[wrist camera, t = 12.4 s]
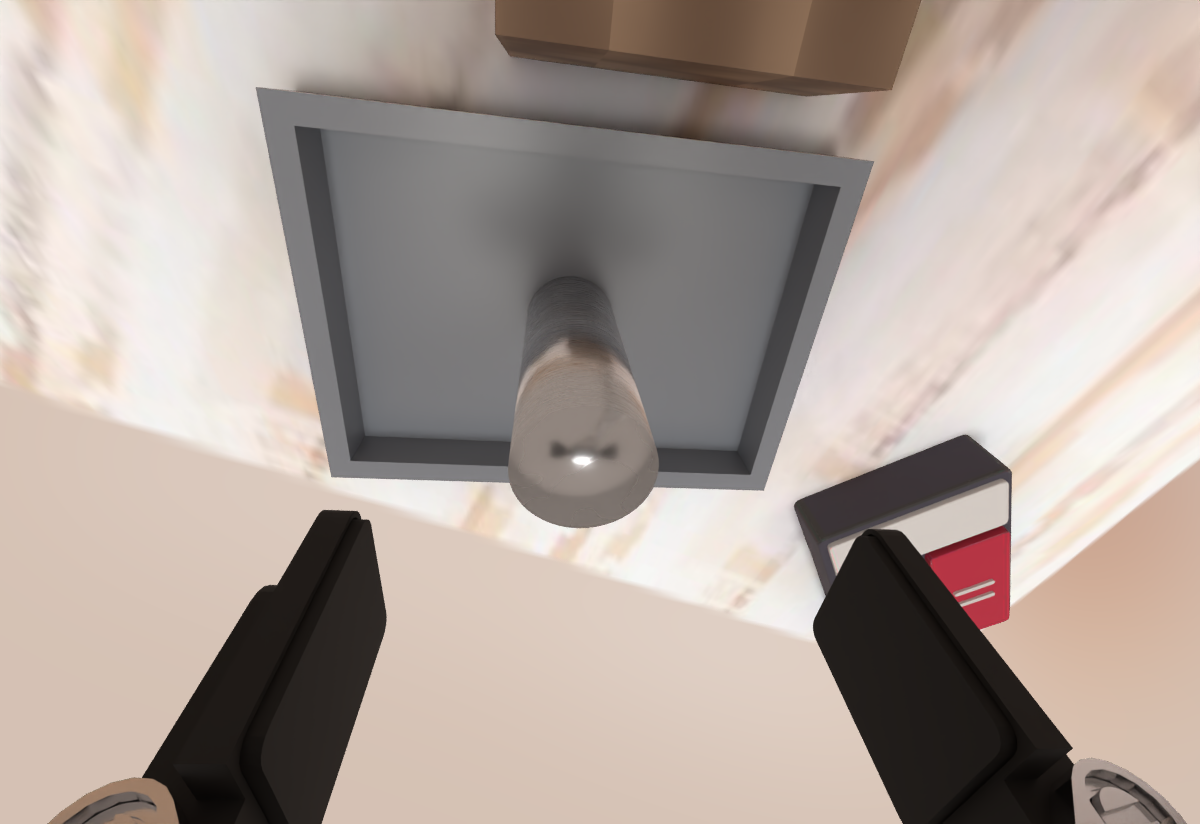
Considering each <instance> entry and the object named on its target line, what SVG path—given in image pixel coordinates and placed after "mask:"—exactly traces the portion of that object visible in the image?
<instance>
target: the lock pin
mask: <svg viewBox="0 0 1200 824" xmlns="http://www.w3.org/2000/svg"><path fill="white" fill-rule="evenodd" d="M658 468H659V458H658V453H657V449H656V446H655V443H654V440H653V436H652V433H651V430H650V427H649V424H648V421H647V417H646V414H645V411H644V408H643V405H642V402H641V399H640V395H639V392H638V389H637V386H636V383H635V380H634V377H633V373H632V370H631V367H630V364H629V361H628V358H627V355H626V351H625V348H624V345H623V342H622V339H621V336H620V333H619V329H618V326H617V323H616V320H615V317H614V314H613V311H612V307H611V305H610V302H609V300H608V298H607V296H606V295H605V293H604V292H603V291H602V290H601V289H600V287H598V286H597V285H596V284H594V283H593V282H591V281H589V280H587V279H584V278H581V277H576V276H564V277H559V278H556V279H553V280H551V281H549V282H547V283H545V284H544V285H543V286H541V287H540V288H539V289H538V290H537V292H536V293H535V294H534V296H533V298H532V299H531V302H530V304H529V308H528V313H527V321H526V329H525V337H524V345H523V352H522V360H521V368H520V376H519V384H518V392H517V400H516V407H515V415H514V423H513V431H512V439H511V447H510V455H509V463H508V477H509V481H510V485H511V487H512V490H513V492H514V494H515V496H516V497H517V499H518V500H519V501H520V503H521V504H522V505H523V506H524V507H525V508H526V509H527V510H528V511H530V512H531V513H532V514H534V515H535V516H537V517H539V518H541V519H542V520H545V521H547V522H549V523H552V524H556V525H559V526H564V527H571V528H589V527H597V526H601V525H605V524H608V523H611V522H614V521H616V520H619V519H621V518H623V517H624V516H626V515H628V514H630V513H631V512H632V511H634V510H635V509H636V508H637V507H638V506H639V505H640V504H642V503H643V501H644V500H645V499H646V498H647V497H648V495H649V494H650V492H651V490H652V489H653V486H654V484H655V482H656V479H657V475H658Z"/></svg>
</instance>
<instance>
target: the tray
mask: <svg viewBox="0 0 1200 824" xmlns="http://www.w3.org/2000/svg"><path fill="white" fill-rule="evenodd" d="M256 91H257V96H258V101H259V106H260V111H261V116H262V122H263V127H264V132H265V137H266V142H267V147H268V152H269V158H270V163H271V168H272V173H273V178H274V183H275V188H276V194H277V199H278V204H279V209H280V214H281V219H282V225H283V230H284V235H285V240H286V245H287V250H288V255H289V261H290V266H291V271H292V276H293V281H294V286H295V292H296V297H297V302H298V307H299V312H300V317H301V322H302V328H303V333H304V338H305V343H306V348H307V353H308V359H309V364H310V369H311V374H312V379H313V384H314V389H315V395H316V400H317V405H318V410H319V415H320V420H321V425H322V431H323V436H324V441H325V446H326V451H327V456H328V462H329V467H330V472H331V477H343V478H376V479H408V480H440V481H473V482H505V483H510V481H509V477H508V463H509V455H510V447H511V439H512V431H513V423H514V415H515V407H516V400H517V392H518V384H519V376H520V368H521V360H522V352H523V345H524V337H525V329H526V321H527V313H528V308H529V304H530V302H531V299H532V298H533V296H534V294H535V293H536V292H537V290H538V289H539V288H540V287H541V286H543V285H544V284H545V283H547V282H549V281H551V280H553V279H556V278H559V277H564V276H576V277H581V278H584V279H587V280H589V281H591V282H593V283H594V284H596V285H597V286H598V287H600V289H601V290H602V291H603V292H604V293H605V295H606V296H607V298H608V300H609V302H610V305H611V307H612V311H613V314H614V317H615V320H616V323H617V326H618V329H619V333H620V336H621V339H622V342H623V345H624V348H625V351H626V355H627V358H628V361H629V364H630V367H631V370H632V373H633V377H634V380H635V383H636V386H637V389H638V392H639V395H640V399H641V402H642V405H643V408H644V411H645V414H646V417H647V421H648V424H649V427H650V430H651V433H652V436H653V440H654V443H655V446H656V449H657V453H658V458H659V468H658V475H657V479H656V482H655V484H654V486H653V487H666V488H699V489H731V490H763V491H764V488H765V485H766V482H767V479H768V476H769V473H770V470H771V467H772V464H773V461H774V458H775V455H776V452H777V449H778V446H779V443H780V440H781V437H782V434H783V431H784V428H785V426H786V423H787V420H788V417H789V414H790V411H791V408H792V405H793V402H794V399H795V396H796V393H797V390H798V387H799V384H800V381H801V378H802V375H803V372H804V369H805V366H806V363H807V360H808V357H809V354H810V351H811V348H812V345H813V342H814V339H815V336H816V333H817V330H818V327H819V324H820V321H821V318H822V315H823V312H824V309H825V306H826V303H827V300H828V297H829V294H830V291H831V288H832V285H833V282H834V279H835V276H836V273H837V270H838V267H839V264H840V261H841V258H842V256H843V253H844V250H845V247H846V244H847V241H848V238H849V235H850V232H851V229H852V226H853V223H854V220H855V217H856V214H857V211H858V208H859V205H860V202H861V199H862V196H863V193H864V190H865V187H866V184H867V181H868V178H869V175H870V172H871V169H872V166H873V163H874V161H867V160H860V159H853V158H845V157H838V156H830V155H822V154H814V153H806V152H797V151H789V150H781V149H772V148H764V147H756V146H747V145H739V144H731V143H722V142H714V141H706V140H697V139H689V138H681V137H673V136H664V135H656V134H648V133H639V132H631V131H623V130H614V129H606V128H598V127H589V126H581V125H573V124H565V123H556V122H548V121H540V120H531V119H523V118H515V117H506V116H498V115H490V114H481V113H473V112H465V111H457V110H448V109H440V108H432V107H423V106H415V105H407V104H398V103H390V102H382V101H373V100H365V99H357V98H349V97H340V96H332V95H324V94H315V93H307V92H299V91H289V90H279V89H269V88H259V87H256Z"/></svg>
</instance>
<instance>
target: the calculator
mask: <svg viewBox="0 0 1200 824" xmlns="http://www.w3.org/2000/svg"><path fill="white" fill-rule="evenodd" d="M1011 492H1012V472H1011V470H1010V469H1009V468H1008V467H1006V466H1005V465H1004V464H1003V463H1001V462H1000V461H999V460H998V459H997V458H995V457H994V456H993V455H992V454H990V453H989V452H988V451H987V450H986V449H984V448H983V447H982V446H981V445H979V444H978V443H977V442H976V441H975V440H973V439H972V438H971V437H969V436H968V435H962V436H959V437H956V438H954V439H951V440H949V441H946V442H944V443H941V444H939V445H936V446H934V447H931V448H929V449H926V450H924V451H921V452H919V453H916V454H914V455H911V456H908V457H906V458H903V459H901V460H898V461H896V462H893V463H891V464H888V465H886V466H883V467H881V468H878V469H876V470H873V471H871V472H868V473H866V474H863V475H861V476H858V477H856V478H853V479H851V480H848V481H846V482H843V483H840V484H838V485H835V486H833V487H830V488H828V489H825V490H823V491H820V492H818V493H815V494H813V495H810V496H808V497H805V498H803V499H800V500H798V501H797V502H796V503H795V505H794V508H795V511H796V514H797V517H798V519H799V522H800V525H801V528H802V531H803V534H804V536H805V539H806V542H807V545H808V547H809V549H810V551H811V554H812V557H813V560H814V563H815V566H816V569H817V572H818V575H819V578H820V580H821V583H822V586H823V589H824V592H825V595H827V593H828V591H829V589H830V588H831V586H832V584H833V582H834V580H835V578H836V576H837V574H838V572H839V570H840V568H841V566H842V564H843V562H844V560H845V558H846V556H847V554H848V552H849V550H850V548H851V546H852V544H853V543H854V541H855V539H856V538H857V537H858V536H861V535H862V534H863V532H864V531H865V530H867V529H891V530H899V531H901V532H902V533H903V534H905V535H906V537H907V538H908V539H909V540H910V542H911V543H912V544H913V545H914V547H915V548H916V549H917V551H918V552H919V553H920V554H921V556H922V557H923V558H924V559H925V561H926V562H927V563H928V565H929V566H930V567H931V568H932V570H933V571H934V572H935V573H936V575H937V576H938V577H939V579H940V580H941V581H942V582H943V584H944V585H945V586H946V587H947V589H948V590H949V591H950V593H951V594H952V595H953V596H954V598H955V599H956V600H957V602H958V603H959V604H960V605H961V607H962V608H963V609H964V610H965V612H966V613H967V614H968V616H969V617H970V618H971V619H972V621H973V622H974V623H975V624H976V626H977V627H978V628H979V630H980V629H983V628H986V627H989V626H992V625H995V624H998V623H1001V622H1004V621H1006V620H1008V619H1009V611H1010V563H1011Z"/></svg>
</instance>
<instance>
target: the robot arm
mask: <svg viewBox="0 0 1200 824" xmlns="http://www.w3.org/2000/svg"><path fill="white" fill-rule="evenodd" d="M385 627H386V609H385V603H384V598H383V592H382V586H381V580H380V574H379V568H378V563H377V557H376V551H375V545H374V539H373V533H372V527H371V523H370V521H369V520H361V516H360V514H359V512H358V511H339V510H323V511H321V512H320V513H319V515H318V516H317V518H316V520H315V522H314V523H313V525H312V526H311V528H310V530H309V532H308V533H307V535H306V537H305V538H304V540H303V542H302V544H301V545H300V547H299V549H298V550H297V552H296V554H295V556H294V557H293V559H292V561H291V563H290V564H289V566H288V568H287V569H286V571H285V573H284V575H283V576H282V578H281V580H280V581H279V583H278V585H268V586H264V587H263V588H262V589H260V590H259V591H258V592H257V593H256V595H255V596H254V597H253V599H252V600H251V601H250V603H249V605H248V606H247V608H246V610H245V611H244V613H243V614H242V616H241V618H240V619H239V621H238V623H237V624H236V626H235V627H234V629H233V631H232V632H231V634H230V636H229V637H228V639H227V640H226V642H225V644H224V645H223V647H222V649H221V650H220V652H219V653H218V655H217V657H216V658H215V660H214V662H213V663H212V665H211V667H210V668H209V670H208V671H207V673H206V675H205V676H204V678H203V680H202V681H201V683H200V684H199V686H198V687H197V689H196V691H195V693H194V694H193V696H192V697H191V699H190V700H189V702H188V704H187V705H186V707H185V709H184V710H183V712H182V713H181V715H180V717H179V718H178V720H177V722H176V723H175V725H174V726H173V728H172V730H171V731H170V733H169V735H168V736H167V738H166V740H165V741H164V743H163V744H162V746H161V747H160V749H159V751H158V752H157V754H156V756H155V757H154V759H153V760H152V762H151V764H150V765H149V767H148V769H147V770H146V772H145V774H144V775H143V777H142V778H129V779H125V780H121V781H116V782H112V783H109V784H107V785H105V786H103V787H101V788H99V789H97V790H94V791H92V792H90V793H88V794H86V795H84V796H83V797H81V798H80V799H79V800H77V801H76V802H74V803H73V804H71V805H70V806H68V807H67V808H65V809H64V810H63V811H61V812H60V813H59V814H58V815H57V816H55V817H54V818H53V819H52V820H51V821H50V822H49V823H48V824H322V821H323V817H324V814H325V811H326V808H327V805H328V802H329V799H330V796H331V793H332V790H333V787H334V784H335V781H336V778H337V775H338V772H339V769H340V766H341V763H342V760H343V757H344V754H345V751H346V748H347V745H348V742H349V739H350V736H351V733H352V730H353V727H354V724H355V720H356V717H357V715H358V711H359V708H360V705H361V702H362V699H363V696H364V693H365V690H366V687H367V684H368V681H369V678H370V675H371V672H372V669H373V666H374V663H375V660H376V657H377V654H378V651H379V648H380V645H381V642H382V639H383V636H384V632H385ZM813 631H814V636H815V638H816V641H817V643H818V645H819V647H820V649H821V651H822V654H823V656H824V658H825V660H826V662H827V664H828V666H829V668H830V670H831V672H832V675H833V677H834V679H835V681H836V683H837V685H838V687H839V690H840V692H841V694H842V696H843V698H844V700H845V702H846V705H847V707H848V709H849V711H850V713H851V715H852V718H853V719H854V722H855V724H856V726H857V728H858V730H859V732H860V735H861V737H862V739H863V741H864V743H865V745H866V747H867V749H868V752H869V754H870V756H871V758H872V760H873V762H874V764H875V767H876V769H877V771H878V772H879V775H880V777H881V779H882V781H883V784H884V786H885V788H886V790H887V792H888V794H889V796H890V798H891V801H892V803H893V805H894V807H895V809H896V811H897V813H898V815H899V818H900V819H901V821H902V823H903V824H1187V823H1186V822H1185V821H1184V819H1183V818H1182V816H1181V815H1180V814H1179V813H1178V812H1177V811H1176V810H1175V809H1174V808H1173V807H1172V806H1171V805H1170V803H1169V802H1168V801H1167V800H1166V799H1165V798H1164V797H1163V796H1161V795H1160V794H1159V793H1158V792H1157V791H1155V790H1154V789H1153V788H1152V787H1151V786H1150V785H1148V784H1147V783H1146V782H1144V781H1143V780H1141V779H1140V778H1138V777H1137V776H1135V775H1134V774H1132V773H1131V772H1129V771H1128V770H1126V769H1124V768H1122V767H1119V766H1117V765H1115V764H1113V763H1110V762H1108V761H1104V760H1100V759H1095V758H1088V759H1081V760H1079V761H1078V762H1077V763H1076V764H1073V763H1072V761H1071V760H1070V759H1069V758H1068V756H1067V755H1066V754H1067V753H1068V752H1069V751H1070V750H1072V749H1073V748H1072V747H1071V745H1070V744H1069V743H1068V742H1067V740H1066V739H1065V738H1064V736H1063V735H1062V734H1061V733H1060V731H1059V730H1058V729H1057V728H1056V726H1055V725H1054V724H1053V722H1052V721H1051V720H1050V719H1049V718H1048V716H1047V715H1046V714H1045V712H1044V711H1043V710H1042V708H1041V707H1040V706H1039V705H1038V703H1037V702H1036V701H1035V700H1034V698H1033V697H1032V696H1031V694H1030V693H1029V692H1028V691H1027V689H1026V688H1025V687H1024V686H1023V684H1022V683H1021V682H1020V680H1019V679H1018V678H1017V677H1016V676H1015V674H1014V673H1013V672H1012V670H1011V669H1010V668H1009V666H1008V665H1007V664H1006V663H1005V661H1004V660H1003V659H1002V658H1001V656H1000V655H999V654H998V653H997V651H996V650H995V649H994V647H993V646H992V645H991V644H990V642H989V641H988V640H987V639H986V637H985V636H984V635H983V633H982V632H981V631H980V630H979V628H978V627H977V626H976V624H975V623H974V622H973V621H972V619H971V618H970V617H969V616H968V614H967V613H966V612H965V610H964V609H963V608H962V607H961V605H960V604H959V603H958V602H957V600H956V599H955V598H954V596H953V595H952V594H951V593H950V591H949V590H948V589H947V587H946V586H945V585H944V584H943V582H942V581H941V580H940V579H939V577H938V576H937V575H936V573H935V572H934V571H933V570H932V568H931V567H930V566H929V565H928V563H927V562H926V561H925V559H924V558H923V557H922V556H921V554H920V553H919V552H918V551H917V549H916V548H915V547H914V545H913V544H912V543H911V542H910V540H909V539H908V538H907V537H906V535H905V534H903V533H902V532H901V531H899V530H891V529H867V530H865V531H864V532H863V534H862V535H861V536H858V537H857V538H856V539H855V541H854V543H853V544H852V546H851V548H850V550H849V552H848V554H847V556H846V558H845V560H844V562H843V564H842V566H841V568H840V570H839V572H838V574H837V576H836V578H835V580H834V582H833V584H832V586H831V588H830V589H829V591H828V593H827V595H826V597H825V599H824V601H823V603H822V605H821V607H820V609H819V611H818V613H817V615H816V617H815V619H814V622H813Z"/></svg>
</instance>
